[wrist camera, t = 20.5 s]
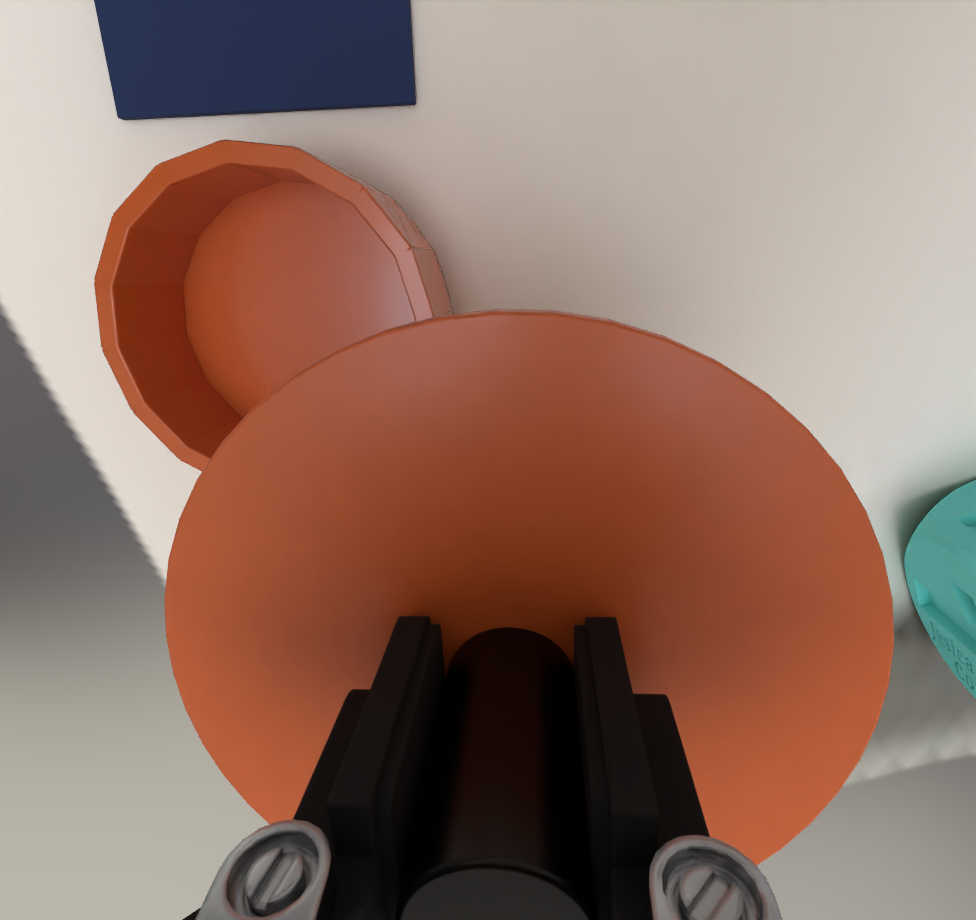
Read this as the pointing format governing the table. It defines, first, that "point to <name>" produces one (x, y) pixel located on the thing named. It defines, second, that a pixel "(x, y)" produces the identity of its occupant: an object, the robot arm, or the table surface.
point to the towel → (255, 55)
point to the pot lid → (531, 588)
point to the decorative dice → (947, 579)
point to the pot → (248, 283)
